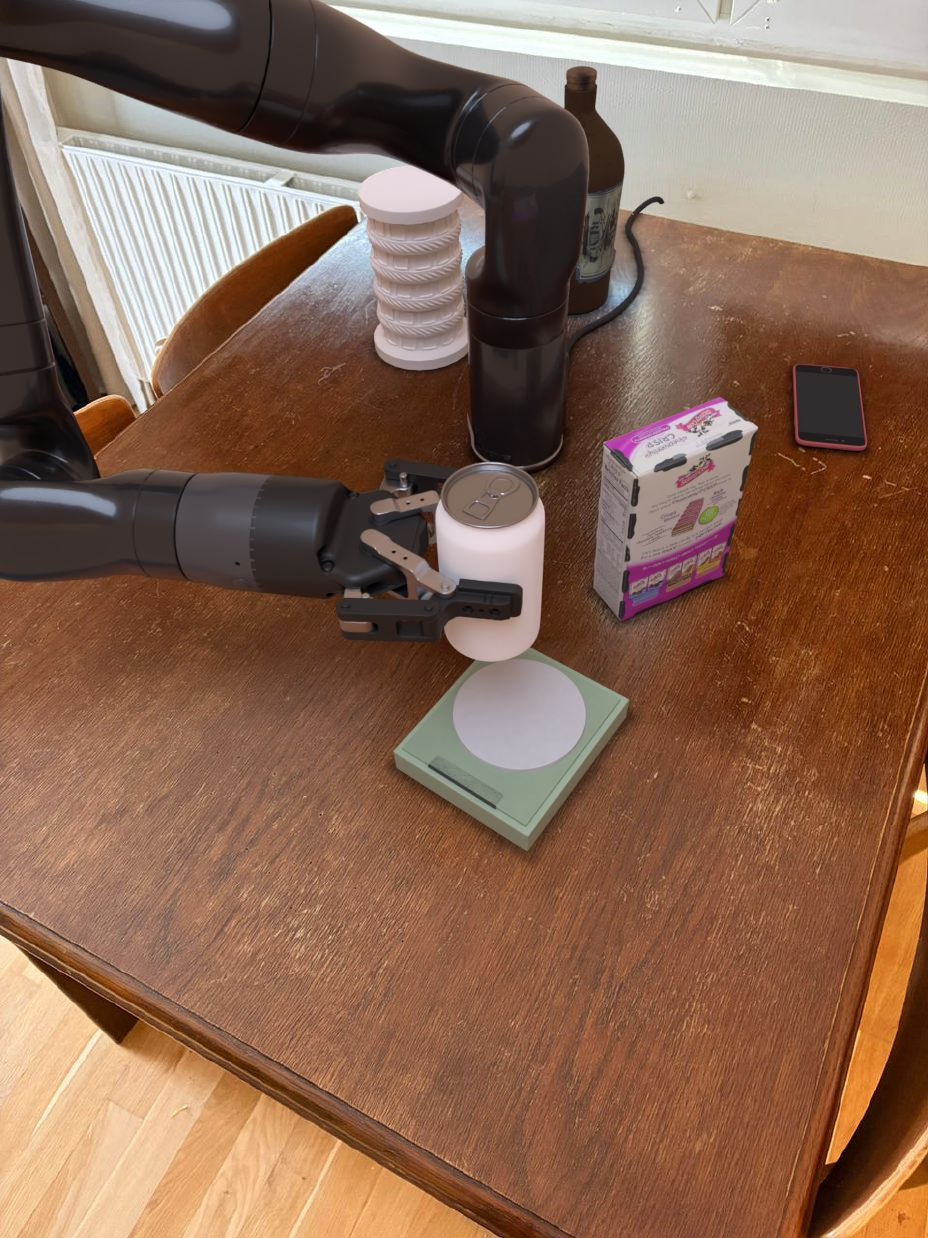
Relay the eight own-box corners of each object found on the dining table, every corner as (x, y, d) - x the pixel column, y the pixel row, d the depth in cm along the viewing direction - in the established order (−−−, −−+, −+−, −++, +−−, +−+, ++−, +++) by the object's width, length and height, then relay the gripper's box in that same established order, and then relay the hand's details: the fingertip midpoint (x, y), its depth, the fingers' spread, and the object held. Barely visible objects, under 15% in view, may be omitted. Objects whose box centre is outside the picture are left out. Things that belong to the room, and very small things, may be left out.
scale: (500, 649, 75) (500, 624, 73) (626, 717, 70) (630, 693, 68) (395, 768, 68) (391, 745, 66) (527, 852, 63) (527, 831, 61)
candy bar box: (690, 543, 82) (721, 392, 70) (724, 577, 79) (763, 427, 67) (587, 587, 79) (600, 438, 67) (618, 624, 76) (639, 476, 64)
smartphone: (859, 367, 98) (868, 448, 89) (857, 372, 98) (867, 452, 89) (792, 362, 99) (795, 441, 90) (791, 366, 99) (794, 445, 90)
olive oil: (509, 296, 112) (508, 73, 93) (566, 264, 116) (576, 45, 97) (573, 328, 106) (587, 98, 87) (630, 293, 111) (655, 67, 92)
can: (557, 616, 61) (567, 481, 52) (506, 681, 57) (506, 548, 48) (478, 579, 63) (474, 443, 54) (424, 638, 60) (410, 505, 51)
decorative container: (355, 342, 106) (331, 189, 93) (429, 305, 111) (417, 153, 98) (418, 382, 101) (403, 225, 87) (493, 341, 105) (490, 185, 92)
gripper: (214, 575, 49) (515, 605, 47) (288, 416, 58) (543, 435, 56) (244, 659, 55) (514, 689, 53) (307, 502, 64) (540, 522, 62)
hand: (528, 558), depth 55 cm, fingers closed on can, 6 cm apart
